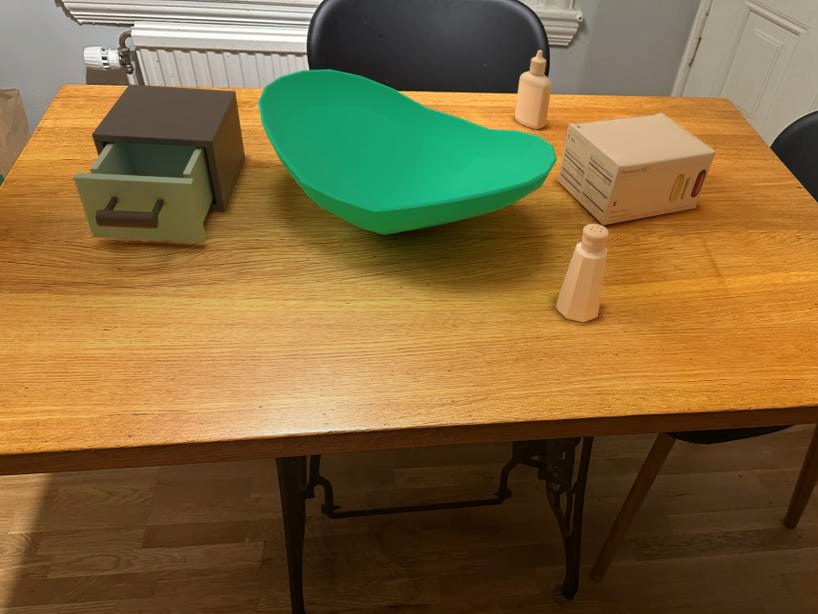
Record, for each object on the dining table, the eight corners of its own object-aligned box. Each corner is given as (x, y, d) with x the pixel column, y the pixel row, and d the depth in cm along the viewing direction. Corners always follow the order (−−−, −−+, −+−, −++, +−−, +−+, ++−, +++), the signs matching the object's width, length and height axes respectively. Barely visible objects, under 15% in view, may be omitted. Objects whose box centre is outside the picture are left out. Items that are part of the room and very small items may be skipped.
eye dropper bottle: (523, 131, 116) (533, 57, 108) (512, 116, 120) (521, 44, 112) (547, 129, 118) (559, 57, 109) (535, 115, 121) (546, 44, 113)
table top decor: (217, 208, 91) (198, 110, 82) (348, 135, 110) (345, 48, 100) (478, 324, 79) (490, 224, 70) (576, 219, 97) (596, 129, 88)
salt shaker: (592, 293, 85) (612, 215, 78) (605, 322, 81) (628, 243, 74) (549, 294, 84) (566, 216, 77) (561, 323, 80) (579, 244, 73)
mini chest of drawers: (224, 211, 91) (211, 141, 84) (113, 206, 89) (91, 134, 83) (245, 157, 101) (235, 91, 95) (146, 152, 100) (129, 84, 93)
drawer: (194, 266, 80) (180, 206, 75) (78, 262, 79) (56, 200, 73) (226, 185, 94) (216, 129, 88) (128, 180, 92) (112, 123, 87)
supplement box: (603, 228, 96) (618, 166, 90) (555, 182, 105) (566, 122, 98) (698, 209, 103) (718, 150, 96) (646, 167, 111) (662, 110, 105)
